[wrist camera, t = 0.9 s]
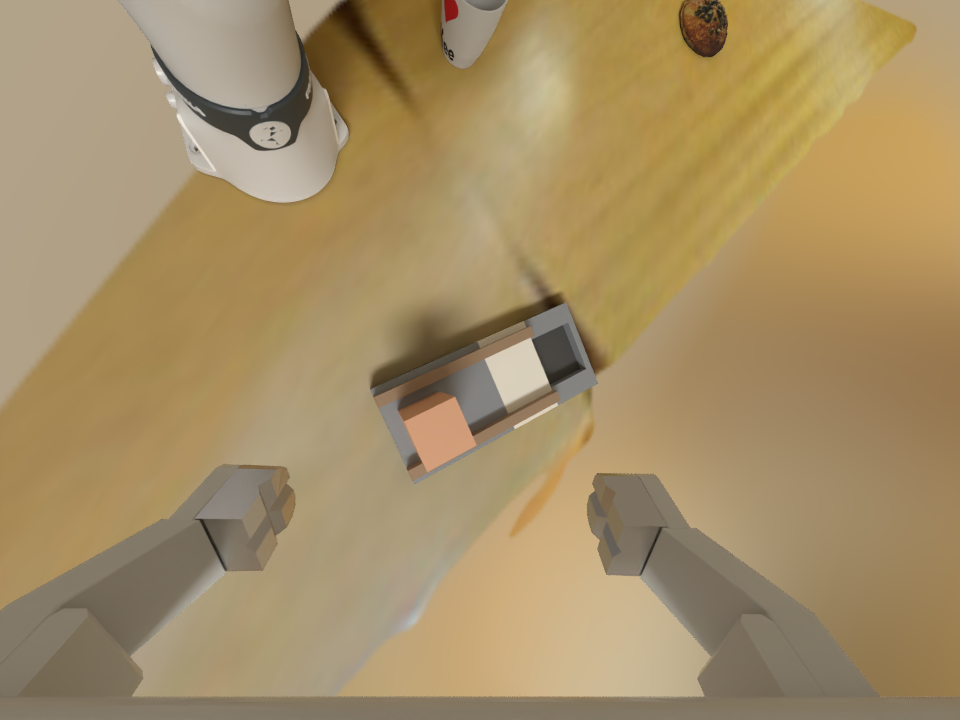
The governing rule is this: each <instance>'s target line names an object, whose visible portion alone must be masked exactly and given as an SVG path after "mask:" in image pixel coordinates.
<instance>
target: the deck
mask: <svg viewBox="0 0 960 720" xmlns="http://www.w3.org/2000/svg"><path fill="white" fill-rule="evenodd" d="M596 384H598V383H597V380H596V377H595V375H594V372H593V370H592V367H591V364H590V362H589V359H588V357H587V354H586V352H585V349H584V347H583V344H582V342H581V339H580V336H579V334H578V331H577V329H576V326H575V324H574V321H573V319H572V316H571V314H570V311H569V308H568V306H567V303H563V304H560V305H558V306H556V307H553V308H551V309H549V310H547V311H544V312H542V313H540V314H538V315H535V316H533V317H531V318H529V319H526V320H524V321H522V322H520V323H517V324H515V325H513V326H511V327H508V328H506V329H504V330H502V331H499V332H497V333H495V334H493V335H490V336H488V337H486V338H484V339H481V340H479V341H477V342H475V343H472V344H470V345H468V346H466V347H463V348H461V349H459V350H457V351H454V352H452V353H450V354H448V355H445V356H443V357H441V358H439V359H436V360H434V361H432V362H430V363H427V364H425V365H423V366H421V367H418V368H416V369H414V370H412V371H409V372H407V373H405V374H403V375H400V376H398V377H396V378H394V379H391V380H389V381H387V382H385V383H382V384H380V385H378V386H376V387H373V388H371V389H370V390H371V393H372V395H373V398H374V400H375V402H376V404H377V406H378V408H379V410H380V412H381V414H382V416H383V418H384V420H385V422H386V425H387V427H388V429H389V431H390V433H391V435H392V437H393V440H394V442H395V444H396V446H397V448H398V450H399V452H400V455H401V457H402V459H403V461H404V463H405V465H406V467H407V470H408V473H409V475H410V477H411V479H412V481H413V482H414V484H416V483H418V482H420V481H421V480H423V479H425V478H427V477H429V476H431V475H432V474H434V473H436V472H438V471H440V470H441V469H443V468H445V467H447V466H449V465H451V464H452V463H454V462H456V461H458V460H460V459H461V458H463V457H465V456H467V455H469V454H471V453H472V452H474V451H476V450H478V449H480V448H481V447H483V446H485V445H487V444H489V443H491V442H492V441H494V440H496V439H498V438H500V437H501V436H503V435H505V434H507V433H509V432H510V431H512V430H514V429H516V428H518V427H520V426H521V425H523V424H525V423H527V422H529V421H530V420H532V419H534V418H536V417H538V416H540V415H541V414H543V413H545V412H547V411H549V410H550V409H552V408H554V407H556V406H558V405H560V404H561V403H563V402H565V401H567V400H569V399H570V398H572V397H574V396H576V395H578V394H580V393H581V392H583V391H585V390H587V389H589V388H590V387H592V386H594V385H596ZM438 391H439V392H442V393H446V394H449V395H452V396H455V397H456V400H457V402H458V404H459V406H460V409H461V411H462V413H463V416H464V418H465V420H466V422H467V425H468V427H469V429H470V431H471V434H472V436H473V438H474V440H475V443H476V445H477V446H475V447H473V448H471V449H469V450H467V451H466V452H464V453H462V454H460V455H458V456H456V457H455V458H453V459H451V460H449V461H447V462H445V463H444V464H442V465H440V466H438V467H436V468H434V469H433V470H431V471H429V472H427V471H426V469H425V467H424V465H423V463H422V461H421V459H420V457H419V455H418V454H417V452H416V450H415V447H414V445H413V443H412V441H411V439H410V437H409V434H408V432H407V430H406V428H405V426H404V424H403V422H402V419H401V417H400V415H399V413H398V410H400V409H402V408H404V407H406V406H408V405H410V404H412V403H414V402H416V401H419V400H421V399H423V398H425V397H427V396H429V395H431V394H433V393H435V392H438Z"/></svg>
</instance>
